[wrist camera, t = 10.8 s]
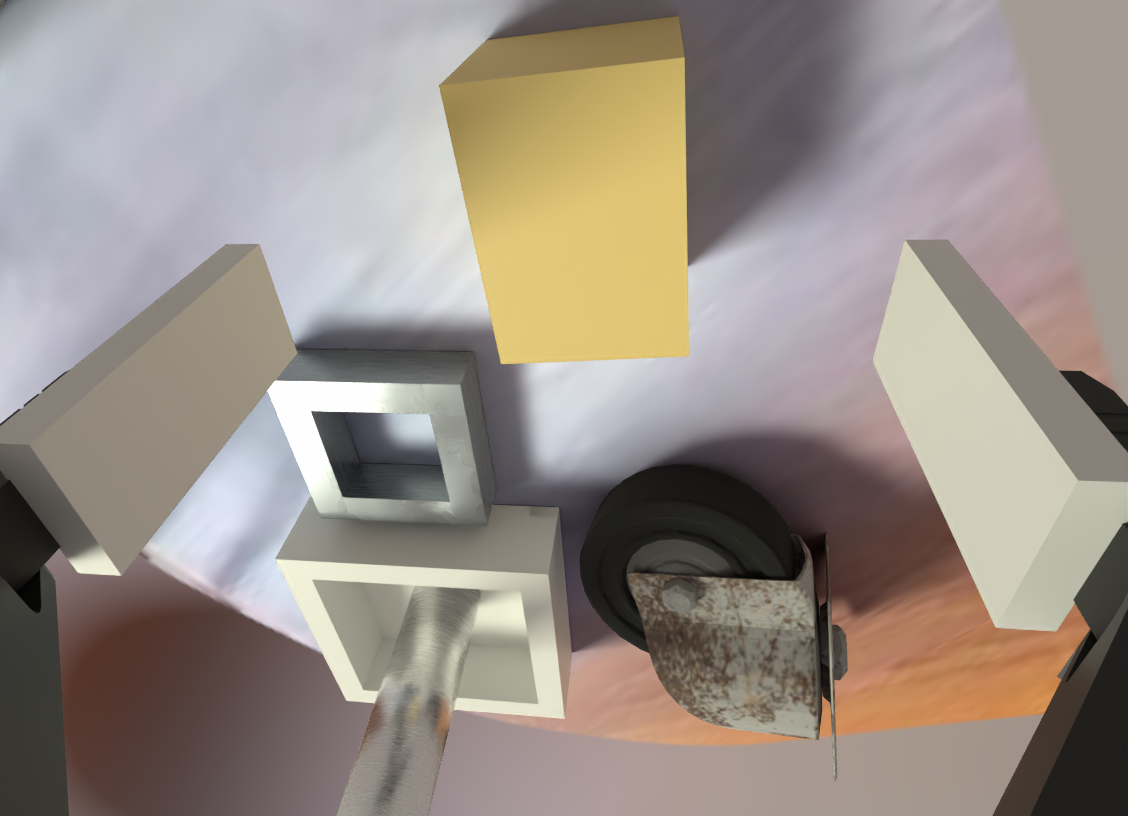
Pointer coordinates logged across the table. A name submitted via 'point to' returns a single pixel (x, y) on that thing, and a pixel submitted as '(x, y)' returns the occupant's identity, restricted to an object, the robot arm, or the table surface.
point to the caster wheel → (717, 600)
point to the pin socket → (388, 385)
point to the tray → (439, 559)
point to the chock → (577, 189)
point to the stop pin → (413, 707)
